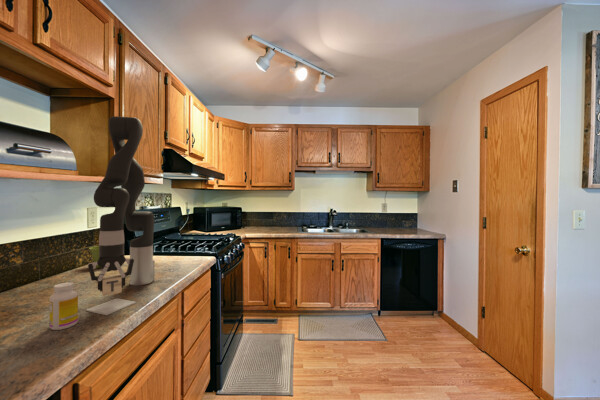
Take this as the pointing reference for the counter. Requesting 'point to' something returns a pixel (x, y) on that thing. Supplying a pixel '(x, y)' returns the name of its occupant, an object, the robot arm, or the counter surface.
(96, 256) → the plant pot
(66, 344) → the counter surface
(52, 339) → the counter surface
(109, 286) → the tan cube block
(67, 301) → the supplement bottle
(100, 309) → the mat
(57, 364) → the counter surface
